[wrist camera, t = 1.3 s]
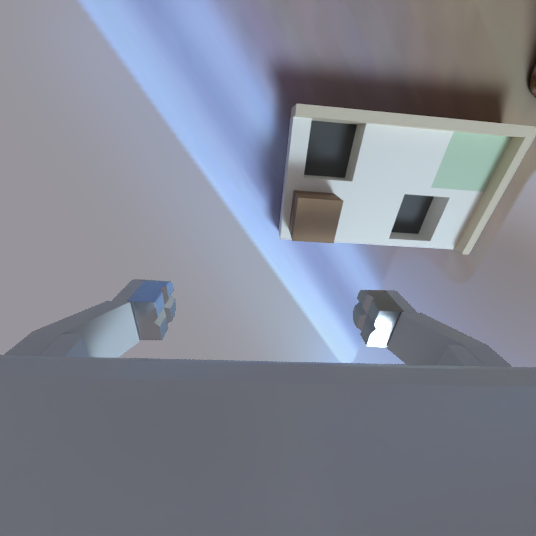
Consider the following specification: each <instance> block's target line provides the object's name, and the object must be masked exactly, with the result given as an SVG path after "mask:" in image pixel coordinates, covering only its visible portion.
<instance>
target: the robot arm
mask: <svg viewBox="0 0 536 536" xmlns="http://www.w3.org/2000/svg"><path fill="white" fill-rule="evenodd" d="M173 291H174V288H173V284H172V282H171V281H155V280H138V279H137V280H136V279H135V280H132V281H130V282H129V284H128V285H127V286H126V287H125V288H124V289H123V290H122V291H121V292H120V293H119V294H118V295H117V296H116V297H115V298H114V299H113V300H112V301H106V302H103V303H101V304H99V305H96V306H94V307H92V308H89V309H86V310H84V311H82V312H79V313H77V314H74V315H72V316H69V317H67V318H65V319H62V320H60V321H58V322H55V323H52V324H50V325H47V326H45V327H43V328H40V329H38V330H35V331H33V332H31V333H30V334H29V335H28V336H27V337H25V338H24V339H23V340H22V341H20V342H19V343H18V344H17V345H15V346H14V347H13V348H12V349H10V350H9V351H8V352H7V353H5V354H4V355H0V536H536V367H512V366H511V365H510V364H509V363H507V362H506V361H505V360H504V359H503V358H502V357H500V356H499V355H498V354H497V353H496V352H495V351H493V350H492V349H491V348H490V347H489V346H488V345H486V344H484V343H482V342H480V341H478V340H475V339H474V338H472V337H469V336H467V335H466V334H463V333H461V332H459V331H457V330H455V329H453V328H451V327H449V326H447V325H445V324H443V323H441V322H439V321H437V320H435V319H433V318H431V317H428V316H427V315H425V314H422V313H417V312H416V310H415V309H414V308H413V307H412V306H411V305H410V304H409V303H408V302H407V301H406V300H405V299H404V298H403V297H402V296H401V295H400V294H399V293H398V292H397V291H394V290H393V291H392V290H390V291H389V290H388V291H387V290H361V291H360V292H359V294H358V297H357V299H358V301H359V303H358V304H357V305H355V307H354V311H353V320H354V323H355V325H356V327H357V328H359V329H360V330H362V331H361V334H360V335H361V336H362V338H363V340H364V342H365V344H366V345H367V346H378V347H387V349H388V350H390V351H391V352H392V353H393V354H395V355H396V356H397V357H398V358H399V359H401V360H402V361H403V362H404V363H405V364H361V363H319V362H318V363H317V362H276V361H275V362H273V361H233V360H191V359H189V360H187V359H148V358H118V357H119V356H121V355H122V354H123V353H125V352H126V351H127V350H129V349H130V348H131V347H133V346H134V345H135V344H137V343H138V342H139V341H140V340H162V339H163V337H164V335H165V333H166V332H167V330H168V323H169V322H171V321H172V320H173V318H174V315H175V310H176V302H175V299H174V297H173V296H172V295H171V294H172V293H173ZM406 364H407V365H406Z"/></svg>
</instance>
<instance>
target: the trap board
mask: <svg viewBox="0 0 536 536" xmlns="http://www.w3.org/2000/svg"><path fill="white" fill-rule="evenodd" d="M535 136H536V127H534V126H524V125H514V124H503V123H493V122H483V121H473V120H462V119H452V118H442V117H431V116H421V115H411V114H400V113H390V112H380V111H369V110H359V109H349V108H338V107H328V106H318V105H307V104H295V105H294V106H293V107H292V108H291V116H290V126H289V136H288V145H287V155H286V164H285V174H284V184H283V193H282V203H281V213H280V222H279V236H280V239H290V240H292V238H291V235H290V232H289V222H290V214H291V206H292V199H293V191H294V190H298V191H312V192H326V193H334V194H335V195H337V196H338V197H339V198H340V199H342V200H343V205H342V210H341V214H340V218H339V222H338V227H337V231H336V235H335V240H334V242H340V243H356V244H373V245H390V246H407V247H423V248H440V249H454V250H456V251H458V252H459V253H461V254H469V253H470V251H471V249H472V248H473V246H474V244H475V242H476V241H477V239H478V237H479V235H480V233H481V232H482V230H483V228H484V226H485V225H486V223H487V221H488V219H489V217H490V216H491V214H492V212H493V210H494V209H495V207H496V205H497V203H498V201H499V200H500V198H501V196H502V194H503V192H504V191H505V189H506V187H507V185H508V184H509V182H510V180H511V178H512V176H513V175H514V173H515V171H516V169H517V168H518V166H519V164H520V162H521V160H522V159H523V157H524V155H525V153H526V152H527V150H528V148H529V146H530V144H531V143H532V141H533V139H534V137H535Z"/></svg>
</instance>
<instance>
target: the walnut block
mask: <svg viewBox="0 0 536 536" xmlns="http://www.w3.org/2000/svg"><path fill="white" fill-rule="evenodd" d="M342 205H343V200H342V199H340V198H339V197H338V196H337V195H335V194H334V193H326V192H312V191H298V190H294V191H293V199H292V206H291V214H290V222H289V232H290V235H291V238H292V241H306V242H323V243H334V240H335V235H336V231H337V227H338V222H339V218H340V214H341V210H342Z"/></svg>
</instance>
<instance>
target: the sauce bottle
mask: <svg viewBox="0 0 536 536" xmlns="http://www.w3.org/2000/svg"><path fill="white" fill-rule="evenodd" d="M530 91H531V93H532V95H534V97H536V64H535V65H534V67H533V71H532V74H531V80H530Z"/></svg>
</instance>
